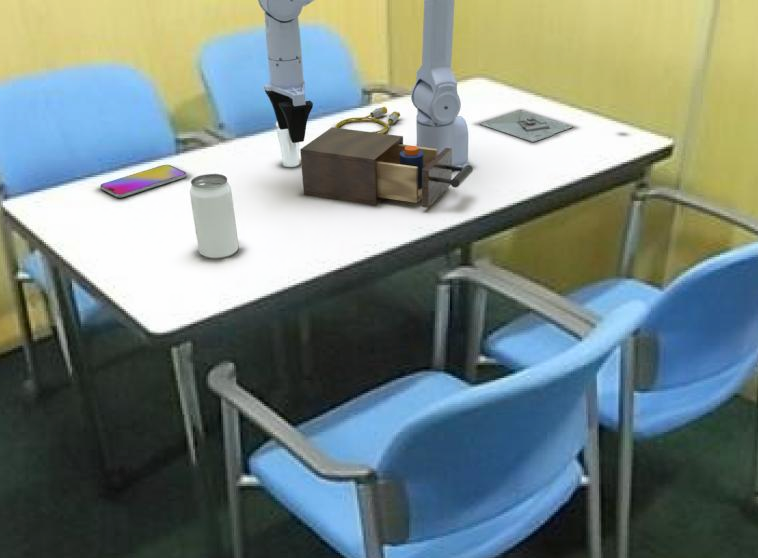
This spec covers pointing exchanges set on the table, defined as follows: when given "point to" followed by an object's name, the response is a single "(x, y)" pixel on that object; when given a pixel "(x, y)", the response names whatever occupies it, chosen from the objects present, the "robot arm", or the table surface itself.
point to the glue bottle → (413, 160)
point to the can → (214, 216)
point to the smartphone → (143, 180)
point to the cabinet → (345, 164)
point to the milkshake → (288, 148)
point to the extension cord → (375, 113)
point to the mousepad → (526, 125)
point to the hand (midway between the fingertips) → (291, 135)
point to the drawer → (404, 178)
